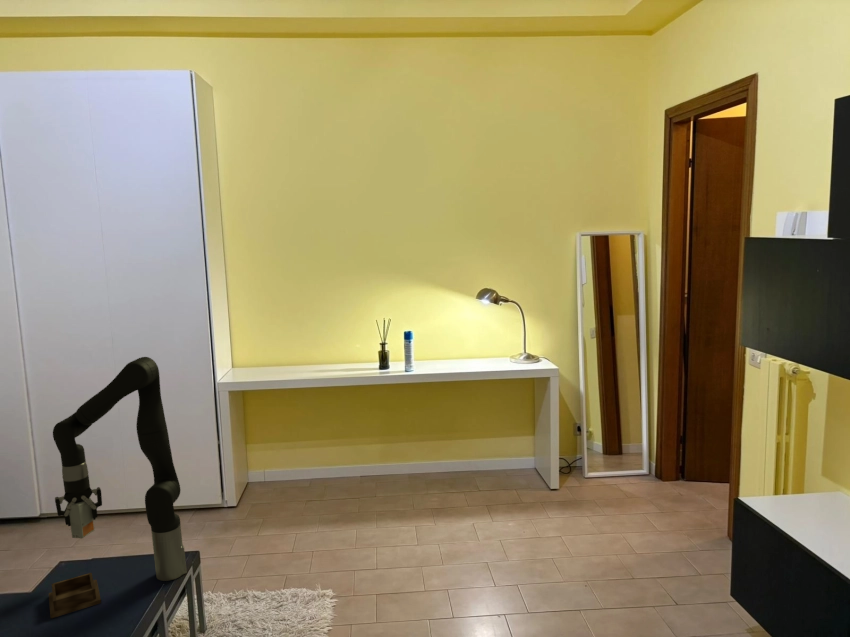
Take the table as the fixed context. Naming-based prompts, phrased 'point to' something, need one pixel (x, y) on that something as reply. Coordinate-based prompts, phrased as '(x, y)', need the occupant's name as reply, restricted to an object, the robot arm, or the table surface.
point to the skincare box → (81, 520)
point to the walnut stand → (73, 595)
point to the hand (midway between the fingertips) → (81, 521)
